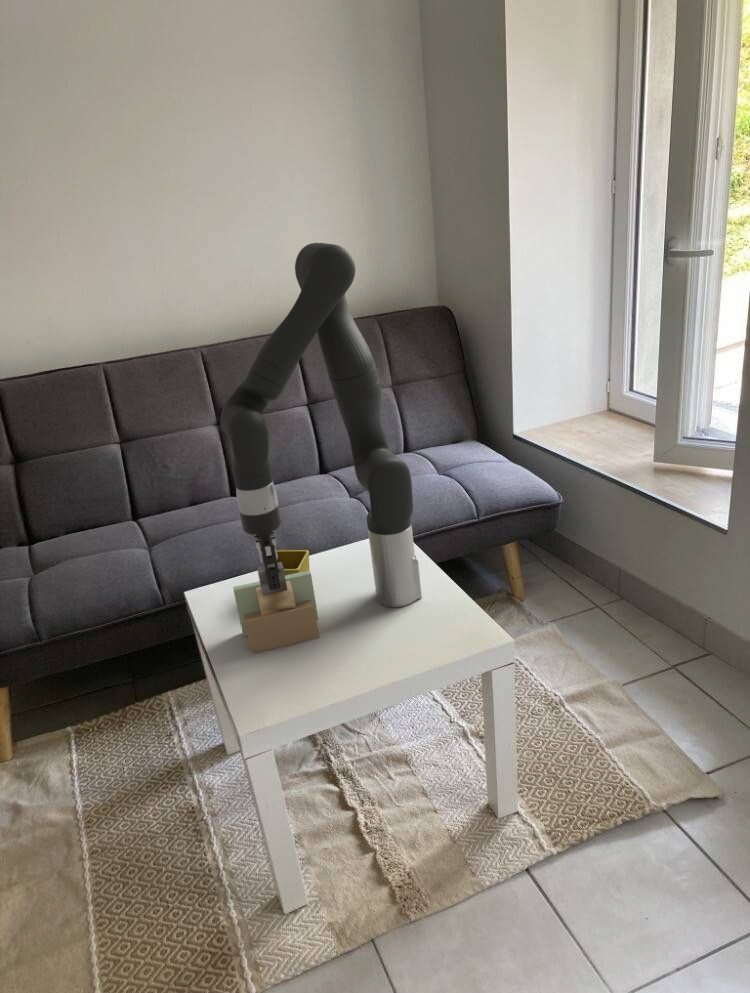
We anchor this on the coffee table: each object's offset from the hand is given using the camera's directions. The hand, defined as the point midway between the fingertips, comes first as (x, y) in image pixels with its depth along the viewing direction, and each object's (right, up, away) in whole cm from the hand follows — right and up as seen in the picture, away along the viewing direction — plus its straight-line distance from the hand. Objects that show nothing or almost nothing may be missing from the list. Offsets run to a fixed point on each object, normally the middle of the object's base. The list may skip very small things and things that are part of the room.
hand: (272, 578), depth 157 cm
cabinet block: (+1, -8, +3) cm, 8 cm away
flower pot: (+2, -6, +20) cm, 21 cm away
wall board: (+1, -12, +6) cm, 13 cm away
